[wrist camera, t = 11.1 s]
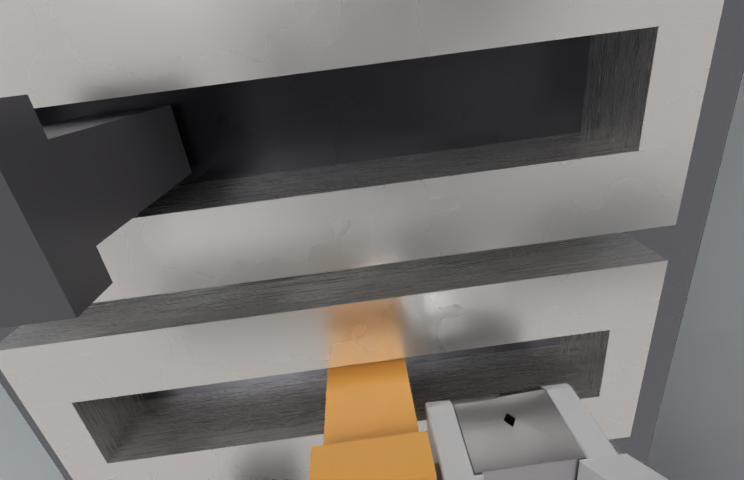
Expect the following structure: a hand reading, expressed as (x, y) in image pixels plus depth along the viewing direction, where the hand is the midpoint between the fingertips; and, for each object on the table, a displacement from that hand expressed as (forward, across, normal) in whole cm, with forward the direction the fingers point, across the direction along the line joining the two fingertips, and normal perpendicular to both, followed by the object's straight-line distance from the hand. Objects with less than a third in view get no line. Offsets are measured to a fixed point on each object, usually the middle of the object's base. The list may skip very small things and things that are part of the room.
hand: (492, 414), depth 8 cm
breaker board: (+5, +3, 0) cm, 6 cm away
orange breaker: (+3, +3, 0) cm, 4 cm away
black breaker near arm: (+3, +7, -6) cm, 9 cm away
